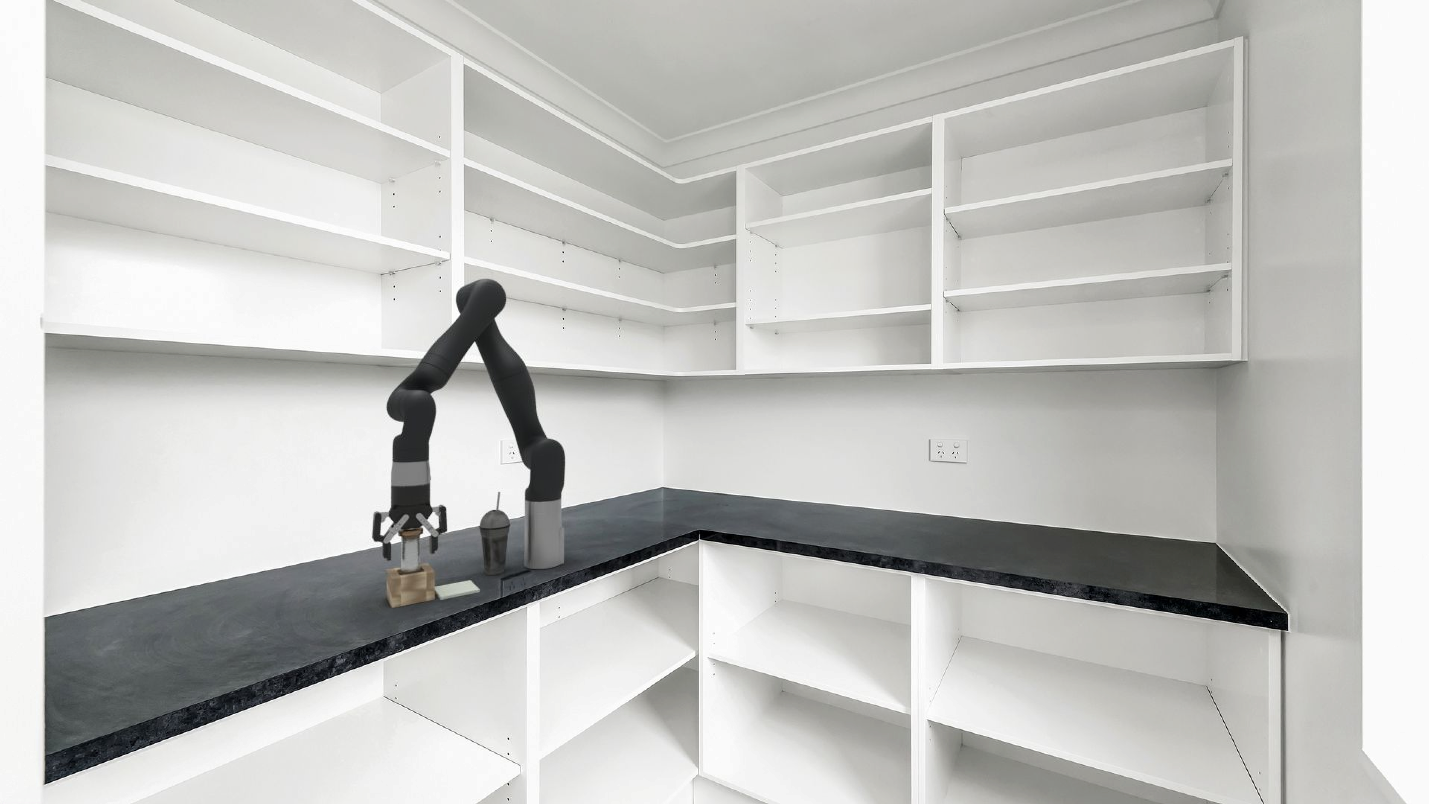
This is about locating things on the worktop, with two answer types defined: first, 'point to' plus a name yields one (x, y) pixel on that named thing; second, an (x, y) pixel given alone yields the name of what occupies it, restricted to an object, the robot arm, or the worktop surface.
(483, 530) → the beverage cup
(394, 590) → the oak eye block
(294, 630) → the worktop surface
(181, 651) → the worktop surface
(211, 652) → the worktop surface
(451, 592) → the sage mat
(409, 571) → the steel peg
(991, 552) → the worktop surface
